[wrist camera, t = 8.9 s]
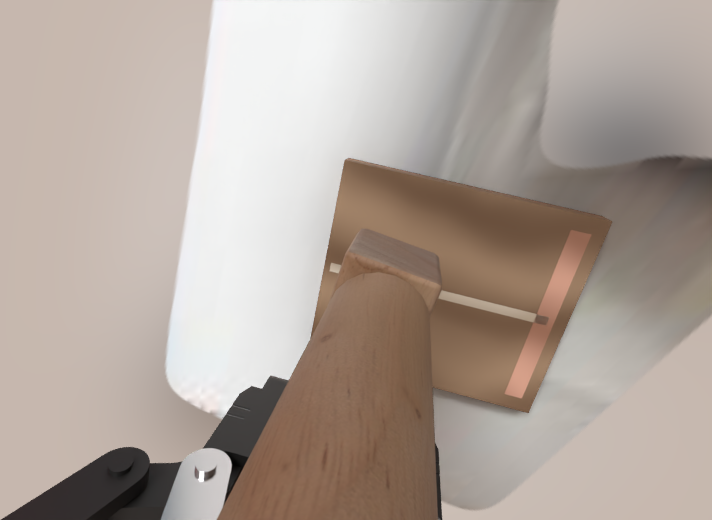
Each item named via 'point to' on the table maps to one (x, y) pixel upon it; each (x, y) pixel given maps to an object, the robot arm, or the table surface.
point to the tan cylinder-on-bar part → (355, 401)
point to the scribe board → (476, 272)
